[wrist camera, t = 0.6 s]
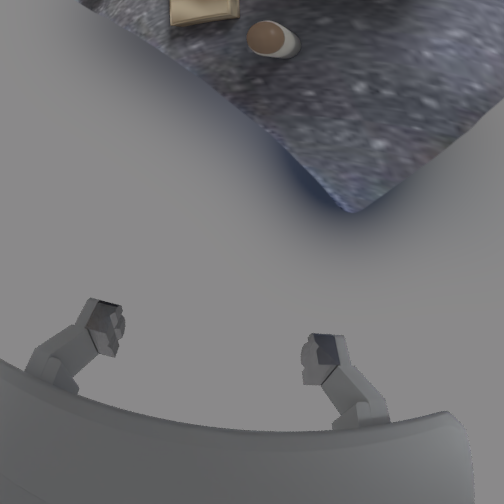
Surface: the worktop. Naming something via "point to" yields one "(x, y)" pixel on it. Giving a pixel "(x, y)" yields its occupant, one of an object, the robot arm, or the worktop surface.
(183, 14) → the riser
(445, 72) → the worktop surface
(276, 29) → the spice jar
